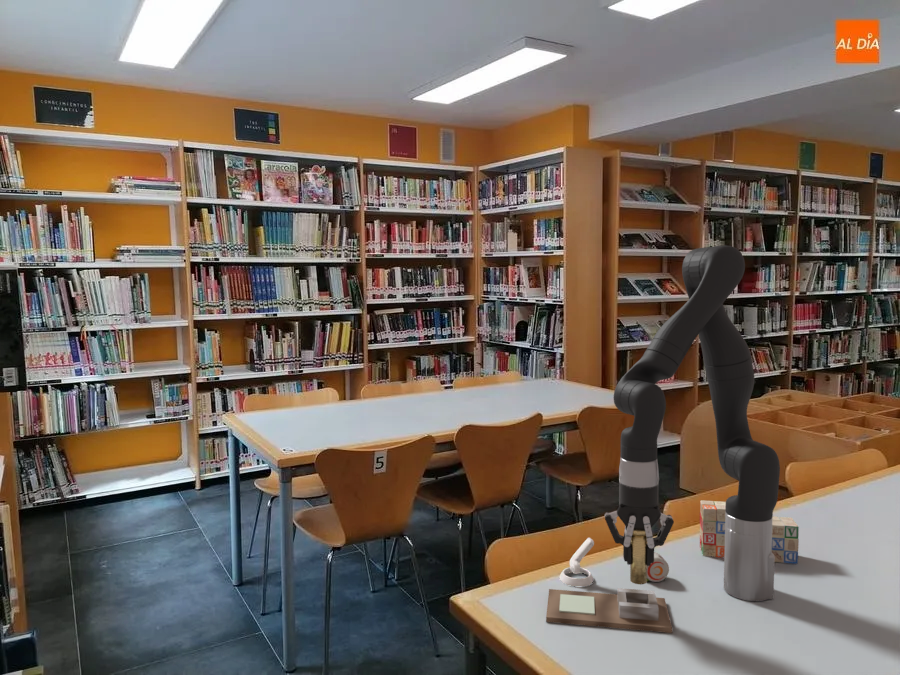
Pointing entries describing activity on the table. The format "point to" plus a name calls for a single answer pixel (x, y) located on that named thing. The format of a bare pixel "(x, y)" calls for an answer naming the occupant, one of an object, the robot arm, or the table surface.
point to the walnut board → (615, 610)
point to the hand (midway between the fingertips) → (638, 563)
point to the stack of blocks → (714, 533)
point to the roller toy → (657, 569)
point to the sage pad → (577, 604)
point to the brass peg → (638, 557)
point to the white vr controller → (578, 566)
